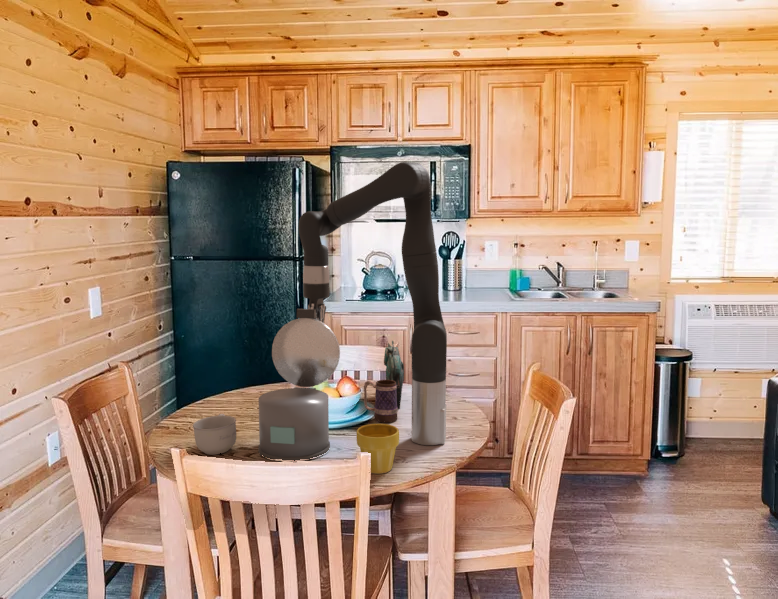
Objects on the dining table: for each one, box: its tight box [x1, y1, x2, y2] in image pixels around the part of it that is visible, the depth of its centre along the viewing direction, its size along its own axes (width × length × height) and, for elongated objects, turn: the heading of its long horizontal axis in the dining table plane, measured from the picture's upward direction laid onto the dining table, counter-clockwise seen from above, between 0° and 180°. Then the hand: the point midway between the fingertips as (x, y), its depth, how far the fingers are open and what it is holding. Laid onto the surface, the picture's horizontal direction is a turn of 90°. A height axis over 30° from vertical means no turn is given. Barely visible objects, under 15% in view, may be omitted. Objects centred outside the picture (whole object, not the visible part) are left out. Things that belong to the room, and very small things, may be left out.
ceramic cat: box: [383, 340, 405, 410], centre depth 210 cm, size 20×6×20 cm, turn 3°
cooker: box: [258, 386, 331, 461], centre depth 167 cm, size 19×20×14 cm
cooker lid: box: [271, 308, 341, 388], centre depth 176 cm, size 19×21×3 cm
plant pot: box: [356, 423, 400, 475], centre depth 154 cm, size 10×10×10 cm
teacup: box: [192, 413, 237, 455], centre depth 167 cm, size 14×11×8 cm
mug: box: [363, 379, 399, 424], centre depth 191 cm, size 10×7×12 cm
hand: (316, 340), depth 185 cm, fingers closed
